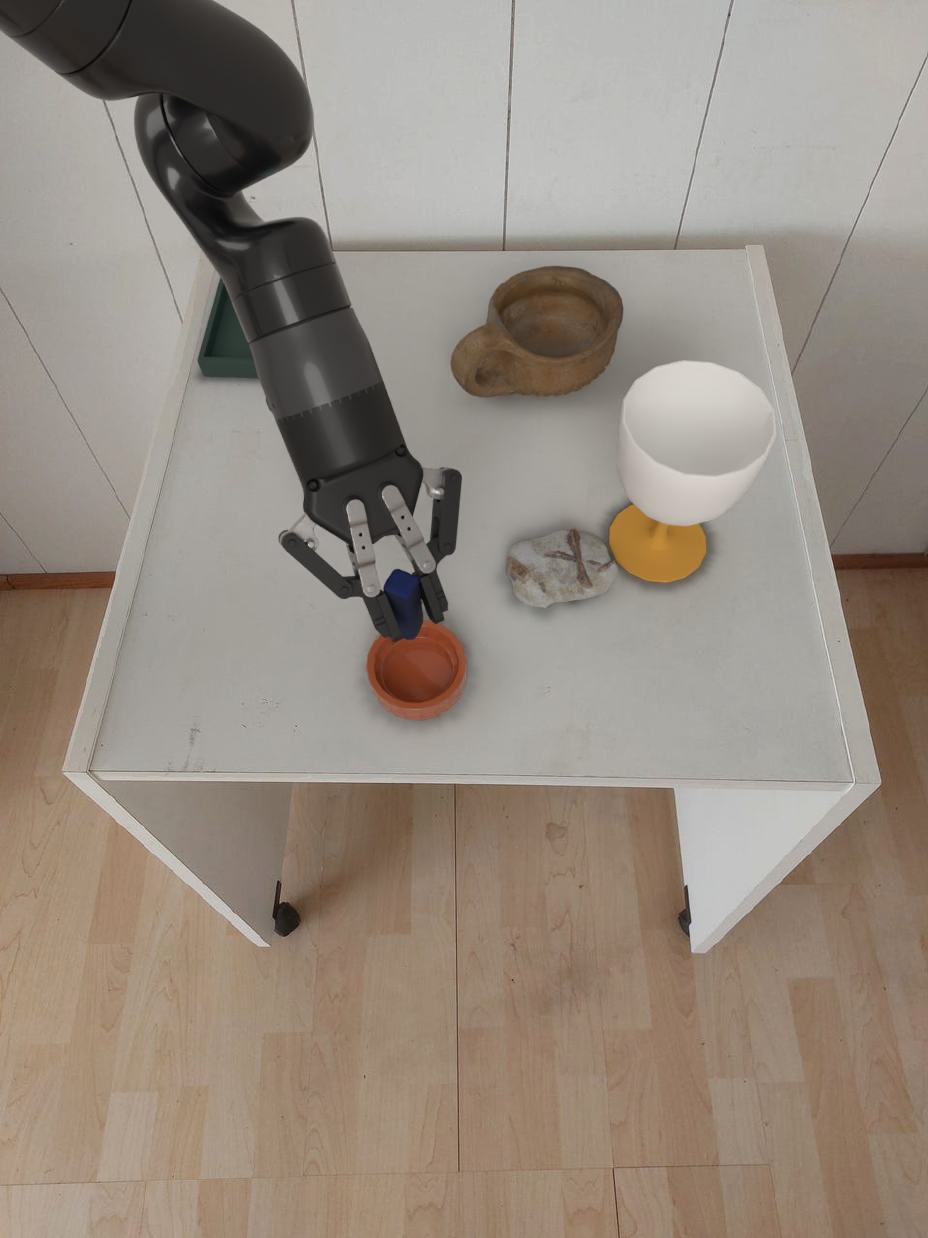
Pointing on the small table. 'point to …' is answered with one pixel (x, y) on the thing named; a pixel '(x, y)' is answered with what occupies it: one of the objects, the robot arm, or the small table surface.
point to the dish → (418, 672)
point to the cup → (684, 462)
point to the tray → (225, 342)
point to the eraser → (405, 602)
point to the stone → (560, 568)
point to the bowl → (541, 335)
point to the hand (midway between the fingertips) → (416, 628)
